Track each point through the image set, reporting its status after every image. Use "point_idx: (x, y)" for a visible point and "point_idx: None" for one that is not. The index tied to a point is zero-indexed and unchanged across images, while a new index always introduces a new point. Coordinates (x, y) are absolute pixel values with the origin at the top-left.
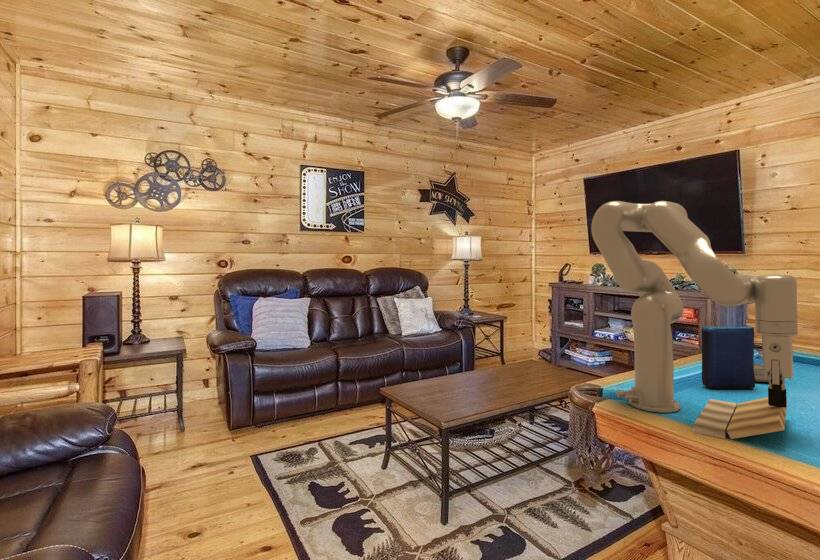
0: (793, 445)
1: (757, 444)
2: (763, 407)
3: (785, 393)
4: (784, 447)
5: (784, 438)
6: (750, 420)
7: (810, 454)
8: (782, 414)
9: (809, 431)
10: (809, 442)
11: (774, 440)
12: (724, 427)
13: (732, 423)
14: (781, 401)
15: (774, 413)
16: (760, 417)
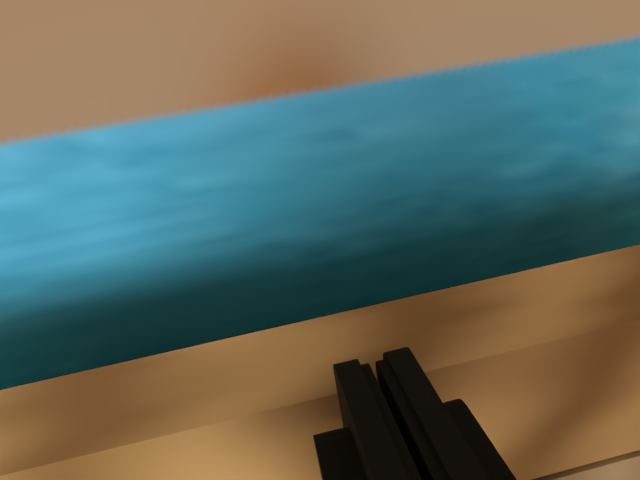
0: (528, 158)
1: None
2: (290, 473)
3: (474, 463)
4: (596, 185)
5: (426, 226)
6: (607, 416)
7: (633, 53)
8: (530, 312)
9: (122, 149)
10: (398, 100)
11: (505, 254)
12: (634, 462)
13: (562, 465)
14: (468, 410)
15: (584, 354)
16: (593, 395)
